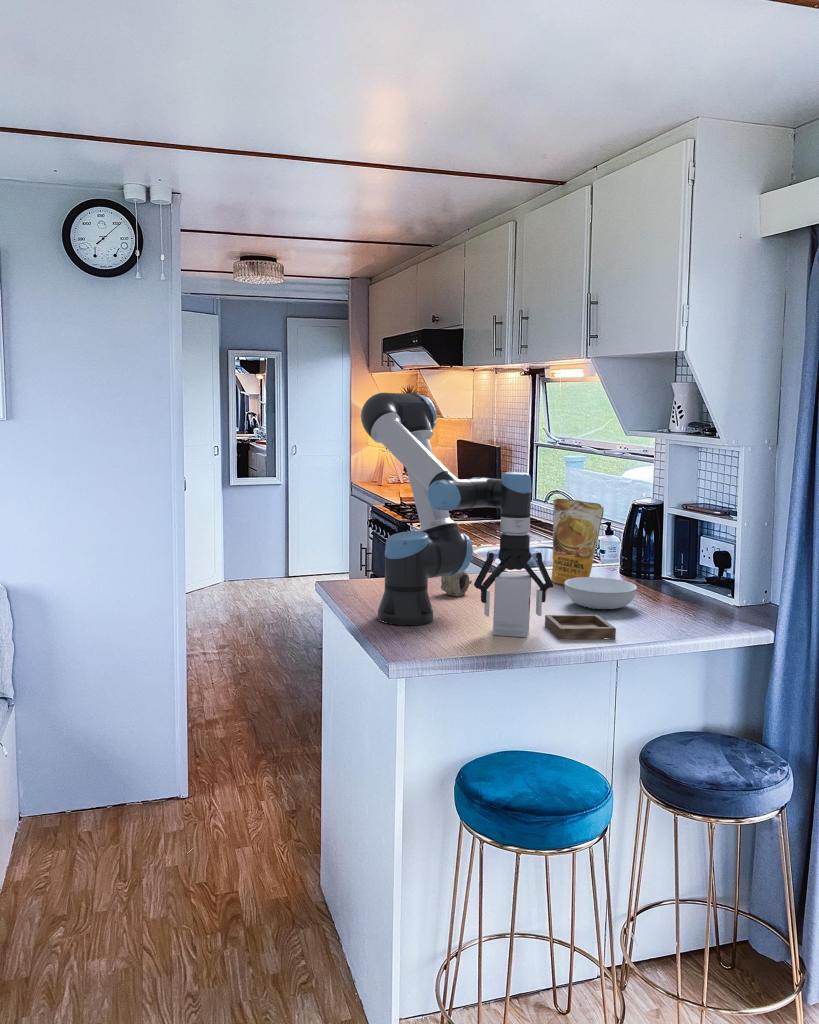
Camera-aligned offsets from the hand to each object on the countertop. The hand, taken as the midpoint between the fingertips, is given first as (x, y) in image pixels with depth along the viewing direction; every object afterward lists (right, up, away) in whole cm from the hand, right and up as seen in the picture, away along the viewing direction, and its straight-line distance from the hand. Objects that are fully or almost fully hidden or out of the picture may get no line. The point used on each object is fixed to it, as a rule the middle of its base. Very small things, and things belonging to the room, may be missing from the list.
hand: (512, 615), depth 222 cm
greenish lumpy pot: (-12, +1, +45) cm, 47 cm away
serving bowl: (+29, -2, +33) cm, 44 cm away
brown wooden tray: (+18, -5, +3) cm, 18 cm away
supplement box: (0, -5, +1) cm, 5 cm away
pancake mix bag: (+27, +2, +63) cm, 69 cm away
